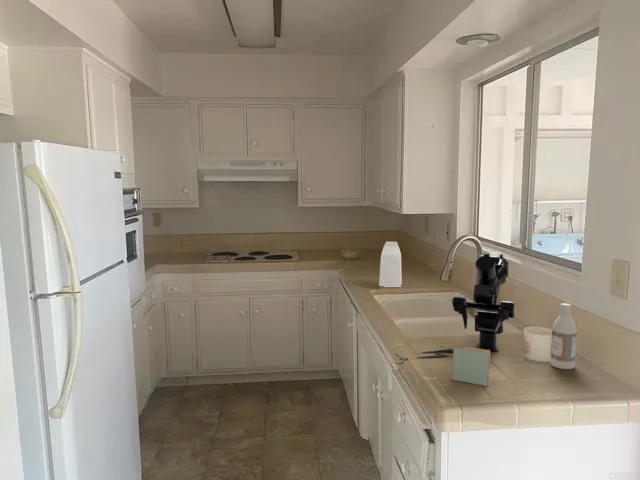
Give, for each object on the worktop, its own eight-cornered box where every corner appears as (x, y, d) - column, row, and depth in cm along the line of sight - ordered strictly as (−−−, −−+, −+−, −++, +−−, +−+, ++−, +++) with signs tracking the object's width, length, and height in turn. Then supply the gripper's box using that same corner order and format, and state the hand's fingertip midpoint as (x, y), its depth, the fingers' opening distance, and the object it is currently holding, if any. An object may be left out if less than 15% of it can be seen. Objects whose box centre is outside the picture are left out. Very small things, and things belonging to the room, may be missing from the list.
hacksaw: (453, 352, 170) (453, 347, 170) (465, 359, 160) (465, 355, 160) (385, 357, 167) (385, 353, 167) (393, 365, 157) (393, 360, 157)
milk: (378, 289, 271) (379, 242, 268) (380, 285, 282) (381, 240, 279) (400, 290, 269) (401, 243, 266) (402, 286, 280) (402, 240, 277)
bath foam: (545, 363, 157) (548, 302, 155) (560, 360, 160) (564, 300, 158) (563, 371, 151) (567, 307, 149) (579, 368, 154) (583, 305, 152)
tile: (453, 377, 146) (454, 345, 145) (488, 383, 141) (490, 350, 140) (452, 380, 144) (453, 347, 143) (487, 386, 139) (489, 352, 138)
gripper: (454, 271, 159) (445, 313, 151) (515, 276, 150) (510, 321, 142) (458, 290, 167) (450, 331, 159) (517, 295, 158) (512, 339, 150)
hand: (479, 330), depth 152 cm, fingers open, 8 cm apart
